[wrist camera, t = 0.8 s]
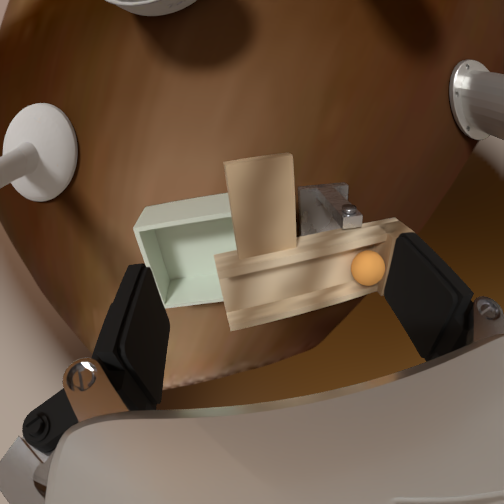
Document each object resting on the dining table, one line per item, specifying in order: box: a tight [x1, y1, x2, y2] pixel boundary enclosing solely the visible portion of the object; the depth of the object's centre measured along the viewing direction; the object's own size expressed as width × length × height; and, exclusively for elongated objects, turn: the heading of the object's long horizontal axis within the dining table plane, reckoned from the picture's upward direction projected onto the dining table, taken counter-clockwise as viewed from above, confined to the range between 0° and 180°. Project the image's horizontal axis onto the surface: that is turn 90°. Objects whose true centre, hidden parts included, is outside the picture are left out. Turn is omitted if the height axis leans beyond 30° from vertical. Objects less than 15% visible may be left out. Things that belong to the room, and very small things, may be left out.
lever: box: [214, 153, 415, 331], centre depth 24 cm, size 19×15×4 cm
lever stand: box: [298, 183, 363, 237], centre depth 31 cm, size 6×11×9 cm, turn 6°
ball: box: [351, 250, 385, 286], centre depth 26 cm, size 4×4×4 cm
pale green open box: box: [133, 193, 237, 308], centre depth 32 cm, size 13×11×6 cm
